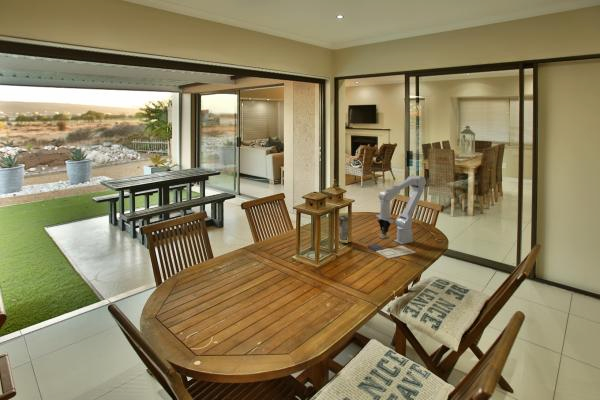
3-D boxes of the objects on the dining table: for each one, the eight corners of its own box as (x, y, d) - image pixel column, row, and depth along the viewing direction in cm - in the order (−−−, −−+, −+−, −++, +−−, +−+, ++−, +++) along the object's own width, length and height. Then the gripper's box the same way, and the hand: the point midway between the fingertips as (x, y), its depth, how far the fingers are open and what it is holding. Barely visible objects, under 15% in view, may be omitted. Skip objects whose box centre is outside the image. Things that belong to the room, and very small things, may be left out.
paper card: (402, 246, 226) (402, 245, 225) (415, 252, 215) (415, 252, 215) (375, 251, 218) (375, 250, 218) (388, 258, 207) (388, 257, 207)
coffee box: (335, 239, 240) (336, 216, 236) (344, 238, 242) (345, 215, 238) (341, 244, 232) (341, 220, 228) (350, 242, 233) (350, 219, 230)
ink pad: (376, 245, 228) (376, 243, 227) (383, 249, 222) (383, 247, 221) (367, 247, 225) (367, 245, 225) (373, 251, 219) (373, 248, 218)
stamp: (385, 236, 230) (385, 225, 228) (389, 238, 226) (389, 227, 225) (378, 237, 228) (379, 226, 226) (382, 239, 224) (383, 228, 223)
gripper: (372, 208, 228) (372, 229, 231) (387, 214, 215) (386, 235, 218) (381, 207, 231) (381, 227, 234) (396, 212, 218) (395, 233, 221)
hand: (384, 231), depth 226 cm, fingers closed on stamp, 3 cm apart
